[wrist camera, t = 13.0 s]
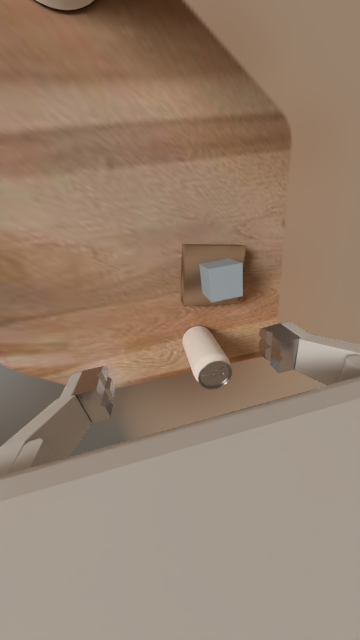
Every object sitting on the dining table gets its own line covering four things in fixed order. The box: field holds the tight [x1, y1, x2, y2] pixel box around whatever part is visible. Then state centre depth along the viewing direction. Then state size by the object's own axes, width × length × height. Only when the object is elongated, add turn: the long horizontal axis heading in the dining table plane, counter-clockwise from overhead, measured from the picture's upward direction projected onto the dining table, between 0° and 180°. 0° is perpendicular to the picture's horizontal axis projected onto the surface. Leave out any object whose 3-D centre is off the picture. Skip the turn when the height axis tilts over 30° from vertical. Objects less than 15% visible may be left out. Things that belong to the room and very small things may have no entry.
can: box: [183, 326, 232, 389], centre depth 36 cm, size 6×6×12 cm
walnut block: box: [181, 244, 246, 306], centre depth 34 cm, size 10×10×4 cm
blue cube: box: [199, 259, 243, 303], centre depth 30 cm, size 5×5×5 cm
